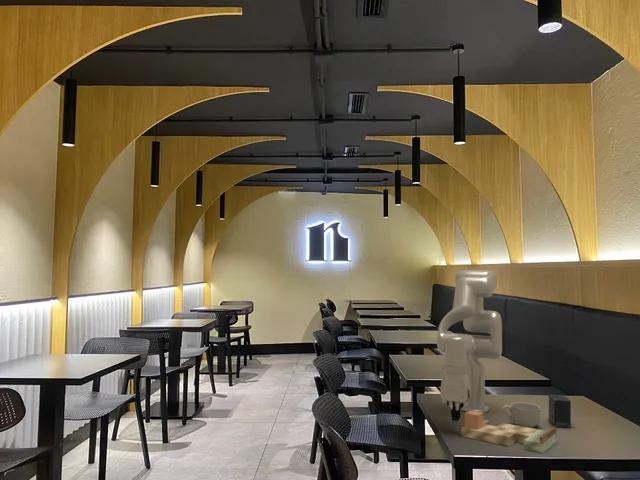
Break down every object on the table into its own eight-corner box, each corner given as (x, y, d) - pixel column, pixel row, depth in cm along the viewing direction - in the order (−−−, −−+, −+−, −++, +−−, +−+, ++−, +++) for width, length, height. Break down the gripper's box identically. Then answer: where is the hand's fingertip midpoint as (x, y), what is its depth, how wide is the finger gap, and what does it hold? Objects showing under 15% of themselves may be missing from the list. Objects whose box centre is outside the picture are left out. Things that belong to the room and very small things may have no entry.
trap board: (461, 436, 193) (461, 422, 193) (478, 426, 206) (478, 413, 206) (543, 453, 176) (542, 437, 176) (556, 441, 188) (556, 426, 189)
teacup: (539, 424, 210) (539, 403, 211) (541, 431, 200) (541, 409, 201) (502, 420, 215) (501, 400, 216) (501, 427, 205) (501, 406, 205)
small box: (572, 428, 204) (571, 400, 205) (553, 427, 206) (553, 399, 206) (565, 421, 215) (564, 394, 215) (547, 420, 216) (547, 393, 217)
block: (464, 427, 194) (464, 413, 194) (470, 424, 198) (470, 410, 198) (478, 429, 191) (478, 415, 191) (483, 426, 195) (483, 412, 195)
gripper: (432, 368, 202) (432, 418, 201) (470, 373, 193) (471, 426, 191) (441, 366, 208) (441, 414, 207) (478, 370, 198) (479, 421, 197)
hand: (455, 420), depth 199 cm, fingers closed
